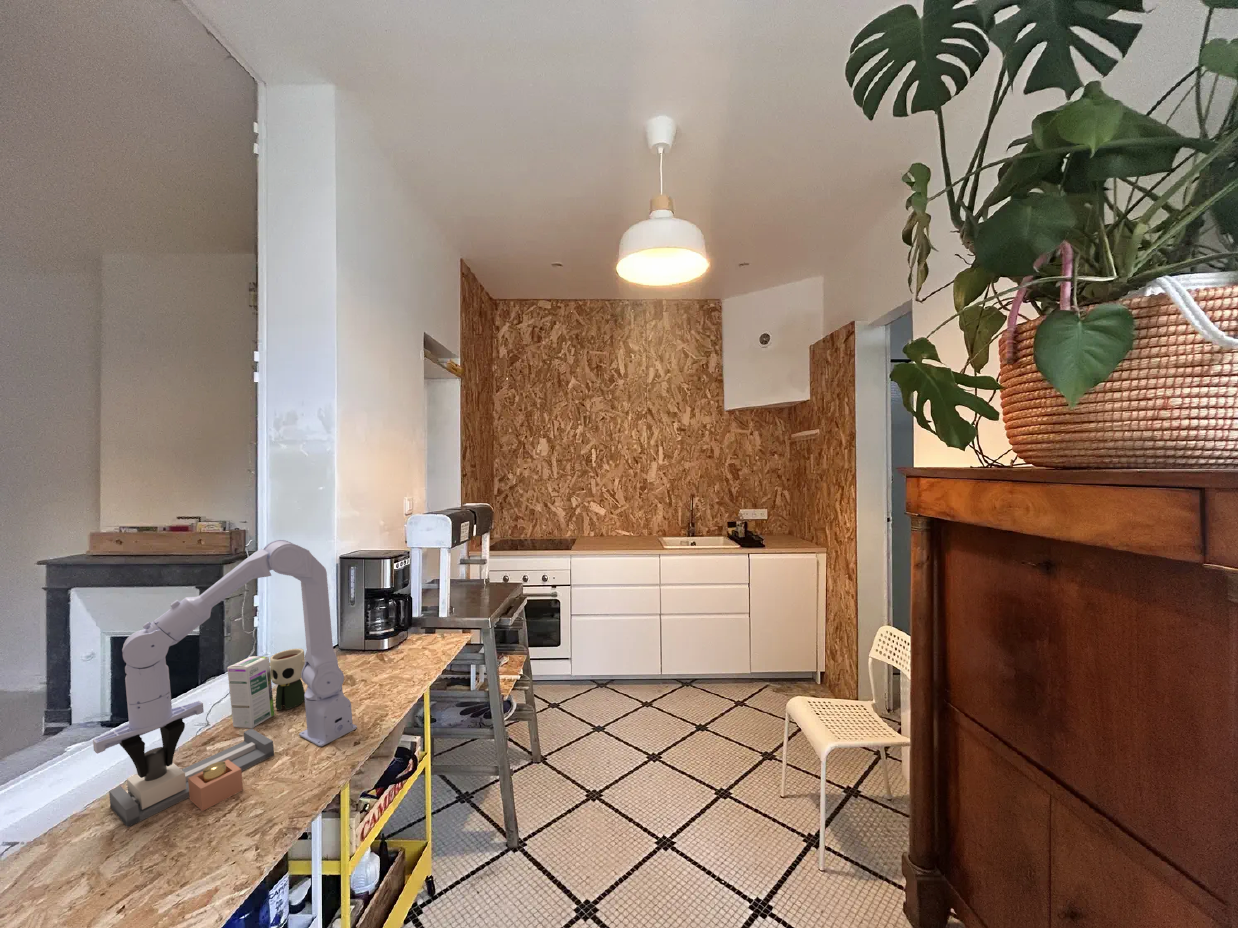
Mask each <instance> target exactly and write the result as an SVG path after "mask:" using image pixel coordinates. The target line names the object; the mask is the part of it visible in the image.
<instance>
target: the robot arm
mask: <svg viewBox="0 0 1238 928" xmlns="http://www.w3.org/2000/svg"><path fill="white" fill-rule="evenodd" d="M272 570H273V572H275V573H277V574H279V575H284V576H290V577H293V578H295V579H297V580H298V581H299V582H300V588H301V599H302V611H303V623H304V635H305V646H306V648H305V649H306V652H305V653H304V657H305V665H304V667H303V669H302V673H301V678H300V679H301V681H302V683H304V684H305V685H307V688H306V690H305V694H304V697H305V700H304V708H305V720H306V729H305V730H303V731H300V732H299V733H298V735H299V736H300V737H302V738H303V739H305V740H307V741H309V742H311V743H313V744H314V745H316V746H318V747H324V746H325V745H327V744H330V743H331V742H333V741H335V740H337V739H339V738H340V737H342V736H345V735H346V734H349V733H351V732H353V731H354V730H356V729H357V728H358V726H357V725H356V724H354V723H353V713H352V712H353V711H352V702H351V701H350V699H349V698H348V697H347V696H345V694H344V691H343V684H344V680H345V675H344V672H343V671H342V669H341V668H340V666H339V661H338V657H337V654H336V652H335V649H334V643H333V632H332V631H333V630H332V621H331V609H330V607H331V606H330V597H329V584H328V574H327V573H328V572H327V569H326V567H325V566H324V565H323V564H322V563H321V562H320V561H319V560H318V559H317V558H316V557H315V555H313V554H312V552H310V550H309V549H308V548H305V547H302V546H301V545H298V544H295V543H293V542H291V541H288V540H285V539H276V540H273V541H271V542H269V543H267V544H266V545H265V546H264V547H263V548H260V549H258V550H256V551H254V552H253V553H252V554H251V555H249V556H248V557H247V558H245V559H244V560H242V561H241V562H240V563H238V564H237V565H236V566H235V567H234V568H232V569H231V570H230V571H229V572H227V573H226V574H225V575H224V576H222V577H221V578H220V579H219V580H217V581H216V582H215V583H214V584H212V585H211V586H210V587H208V588H207V589H206V590H204V591H203V592H202V593H201V594H200V595H198V596H186V597H184V598H183V599H181V600H179V599H175V600H174V601H172V602H171V603H170V608H169V609H168V610H166V611H165V612H164V613H162V614H161V615H160V616H158V617H157V618H156V619H154V620H153V621H151V622H150V621H147V622H145V623H144V624H143V625H142V628H143V629H141V630H140V629H139V630H137V631H135V632H133V633H131V634H130V635H128V637H127V638H126V639H125V640H124V643H123V645H122V649H121V652H122V659H123V661H124V663H126V665H125V666H124V672H125V674H126V675H125V678H124V680H125V681H124V682H125V691H126V702H127V703H126V704H127V713H128V714H127V715H128V723H127V724H126V725H123V726H121V727H119V728H117V729H115V730H113V731H110V732H109V733H106V734H104V735H102V736H99V737H97V738H94V739H92V745H93V751H94V752H95V753H96V754H100V753H102V752H105V751H106V750H107V749H109V748H111V747H115V746H117V745H120V747H122V749H123V750H124V751H125V752H126V753H127V755H128V756H129V758H130V759H131V761H132V763H133V764H134V767H135V769H136V772H137V773H136V774H138V775H139V776H140V777H141V778H143V777H145V776H147V770H146V765H145V753H146V752H145V751H146V750H145V749H146V743H145V742H144V740H143V737H142V736H143V735H145V734H148V733H151V732H153V731H156V730H159V731H160V734H161V743H162V747H165V753H166V765H167V766H170V765H172V763H174V756H175V752H176V749H177V745H178V742H179V740H180V738H181V736H182V734H183V733H184V730H185V727H186V724H185V721H183V720H184V719H187V718H189V717H192V716H195V715H197V716H199V715H201V714H204V711H205V710H204V703H203V702H202V701H200V700H198V701H194V702H192V703H188V704H184V705H180V706H177V707H172V693H171V681H170V669H169V666H168V665H167V661H166V659H167V658H166V656H167V654H168V652H169V648H170V647H171V646H174V645H176V644H178V643H179V642H180V641H182V640H183V639H184V638H186V637H187V636H188V635H189V634H191V633H192V632H194V631H195V630H196V629H197V628H199V627H200V626H201V625H202V624H204V623H205V622H206V621H207V620H209V619H210V618H211V615H212V614H211V612H212V609H213V607H215V606H216V605H218V604H219V603H221V602H222V601H224V600H225V599H226V598H228V597H229V596H231V595H232V594H233V593H234V592H236V591H238V590H239V589H240V588H242V587H244V586H245V585H246V584H248V583H249V582H250V581H252V580H253V579H255V580H256V579H259V578H261V579H262V578H267V577H272V574H271V571H272Z"/></svg>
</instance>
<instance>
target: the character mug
mask: <svg viewBox="0 0 1238 928" xmlns="http://www.w3.org/2000/svg"><path fill="white" fill-rule="evenodd" d="M269 663H270V674H271V683H273V684H274V685H276V686H277V687H276V692H275V708H276V710H280V711H281V710H282V707H284V709H285V710H289V709H293V708H295V707H298V706H300V705H301V704H302V703H303V702H305V697H304V694H305V692H306V690H305V688H304V685H303V680H302V678H301V673H302V669H303V667H304V665H305V651H304V649H303V648H290V649H285V650H282V651H279V652H276V653H275V654H273V655H271V656H270V657H269Z"/></svg>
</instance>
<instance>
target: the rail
mask: <svg viewBox="0 0 1238 928" xmlns="http://www.w3.org/2000/svg"><path fill="white" fill-rule="evenodd" d="M243 739H244V740H243V741H242V742H241V741H240V742H239V743H237V744H235V745H232V746H230V747H228V748H226V749H224V750H221V751H219V752H216V753H215V754H213V755H211V756H208V757H206V758H204V759H202V760H199V761H197V762H195V763H193V764H191V765H188V766H186V767H184V768H182V769H181V770H182V771H184V772H185V779H186V789H184V790H182V791H180V792H178V793H176V794H174V795H172V796H170V797H168V798H166V799H163V800H161V801H159V802H157V803H155V804H153V805H151V806H149V807H147V808H145V809H143V810H142V809H141V808H140V802H139V801H138V800H137V799H136V798H135V796H134V795H133V796H131V797H130V795H129V794H128V791H126V790H125V789H124V787H123V786H122V785H120V786H118V787H117V786H116V787H114V788H113V789H111V790H108V792H109V793H108V795H109V805H110V809H111V810H112V811H113V812H114V813H115V815H116V816H117V818H119V819H120V820H121V822H122V823H123V824H124V825H125V827H126V828H129V827H131V826H133V825H134V826H135V824H137V823H139V822H141V821H144V820H146V819H148V818H150V817H151V816H154V815H156V814H158V813H160V812H162V811H164V810H166V809H168V808H170V807H172V806H174V805H176V804H178V803H181V802H182V801H184V800H187V799H188V798H190V796H189V784H188V778H189V777H191V776H194V775H196V774H198V773H200V772H202V771H203V770H204V769H205V768H206V767H207V766H209V765H211V764H213V763H216V762H221V761H226V760H229V761H231V762H232V763H234V764H235V765H236V766H238V767H239V768H241V771H242V772H243V771H245V770H246V769H249V768H251V767H253V766H255V765H258V764H259V763H261V762H262V761H265V760H267V759H269V758H271V757H273V756H275V749H274V740H272V739H270V738H269V737H267V736H266V735H263V734H262V733H260V732H258V731H257V730H255V729H254V728H248V730H246V731H243Z"/></svg>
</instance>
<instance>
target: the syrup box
mask: <svg viewBox="0 0 1238 928" xmlns="http://www.w3.org/2000/svg"><path fill="white" fill-rule="evenodd" d="M226 669H227V678H228V679H227V680H228V688H229V697H230V709H231V716H232V726H233V727H234V728H239V729H240V728H241V729H255V728H256V726H259V724H261V723H263V722H265V721H267V720H268V719H270V718H273V716H275V707H274V698H273V686H272V680H271V674H270V657H269V656H262V655H258V656H257V655H254V656H251V655H250V656H248V657H247V658H245V659H243V660H241V661H238V662H236V663H234V664H231V665H229V666H228V667H226Z"/></svg>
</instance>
